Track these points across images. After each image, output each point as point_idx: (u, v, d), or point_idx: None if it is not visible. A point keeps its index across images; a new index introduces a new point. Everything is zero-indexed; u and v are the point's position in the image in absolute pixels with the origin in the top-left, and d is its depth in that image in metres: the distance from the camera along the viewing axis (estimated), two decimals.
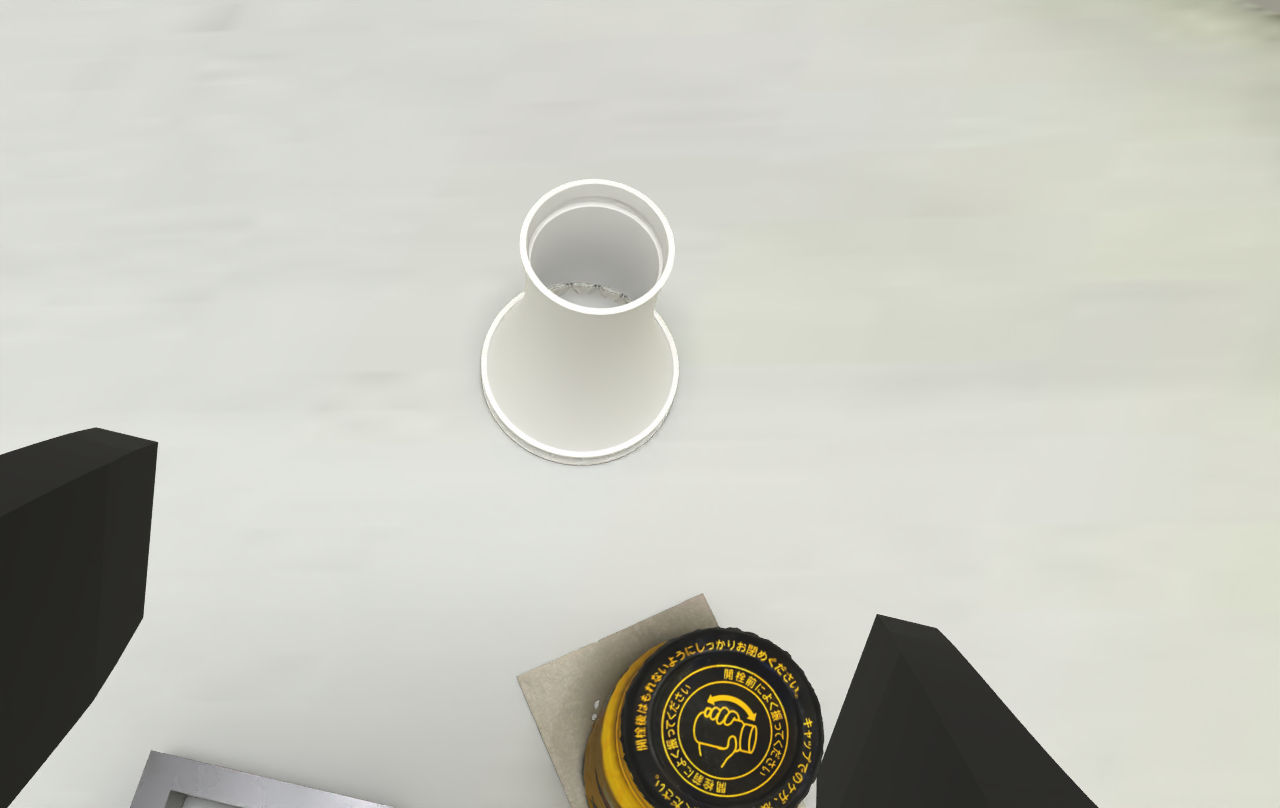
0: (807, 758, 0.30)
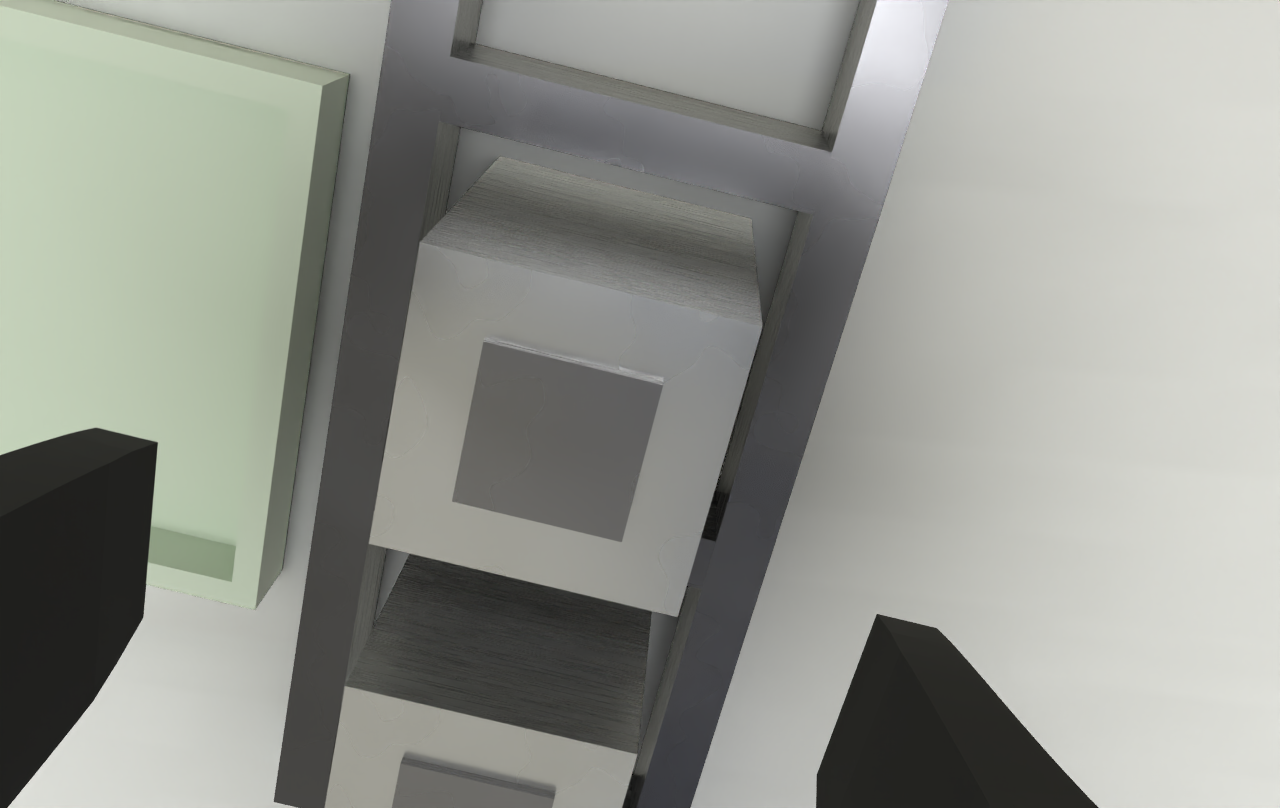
0: None
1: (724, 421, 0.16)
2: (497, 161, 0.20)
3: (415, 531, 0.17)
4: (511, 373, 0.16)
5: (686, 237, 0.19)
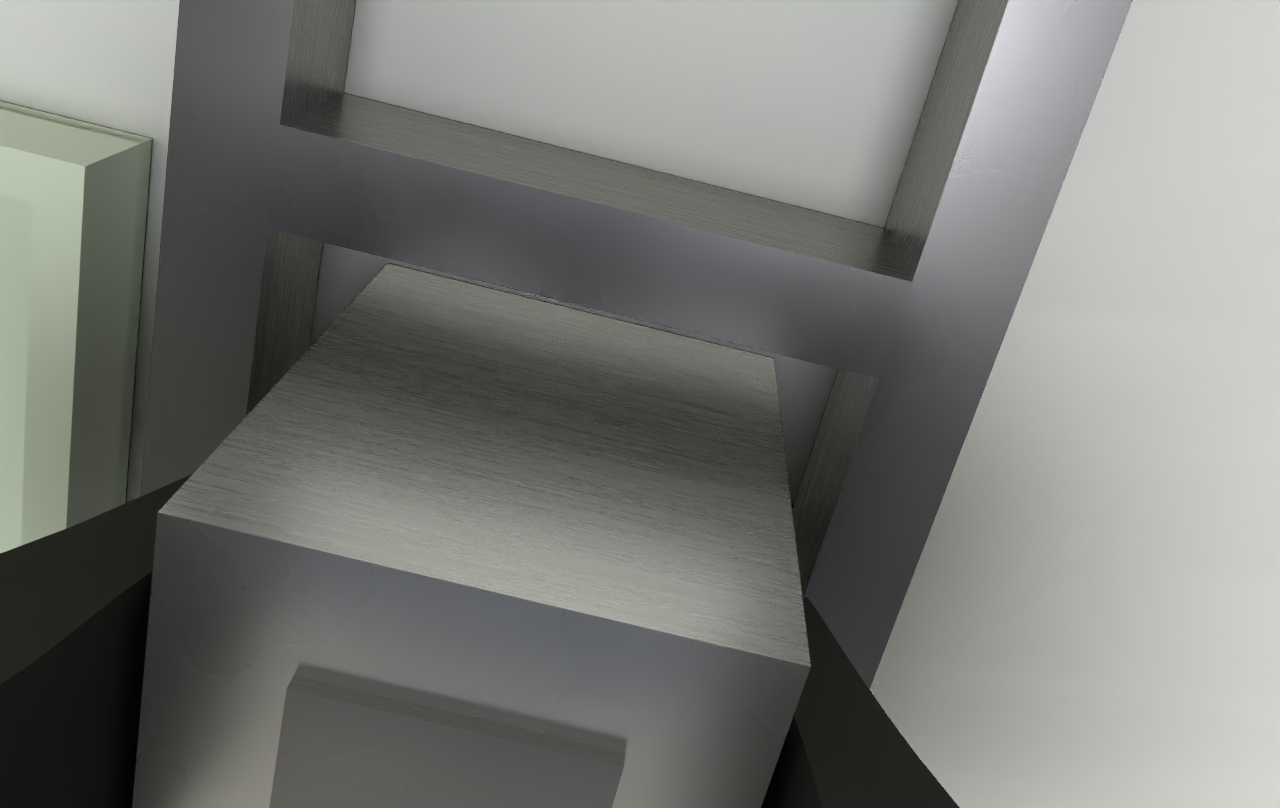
0: None
1: None
2: (379, 277, 0.13)
3: None
4: (342, 740, 0.08)
5: (671, 419, 0.11)
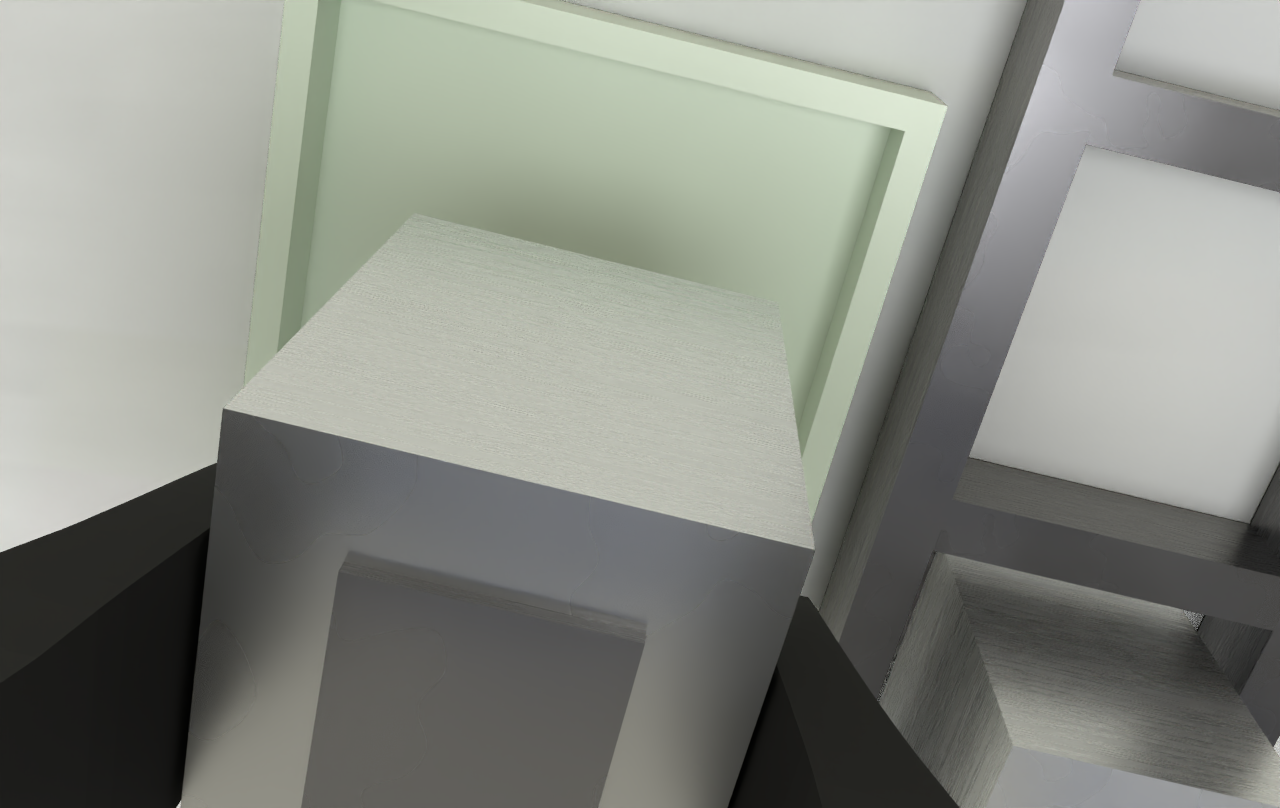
0: None
1: (748, 696, 0.09)
2: (407, 224, 0.14)
3: None
4: (387, 621, 0.09)
5: (684, 350, 0.12)
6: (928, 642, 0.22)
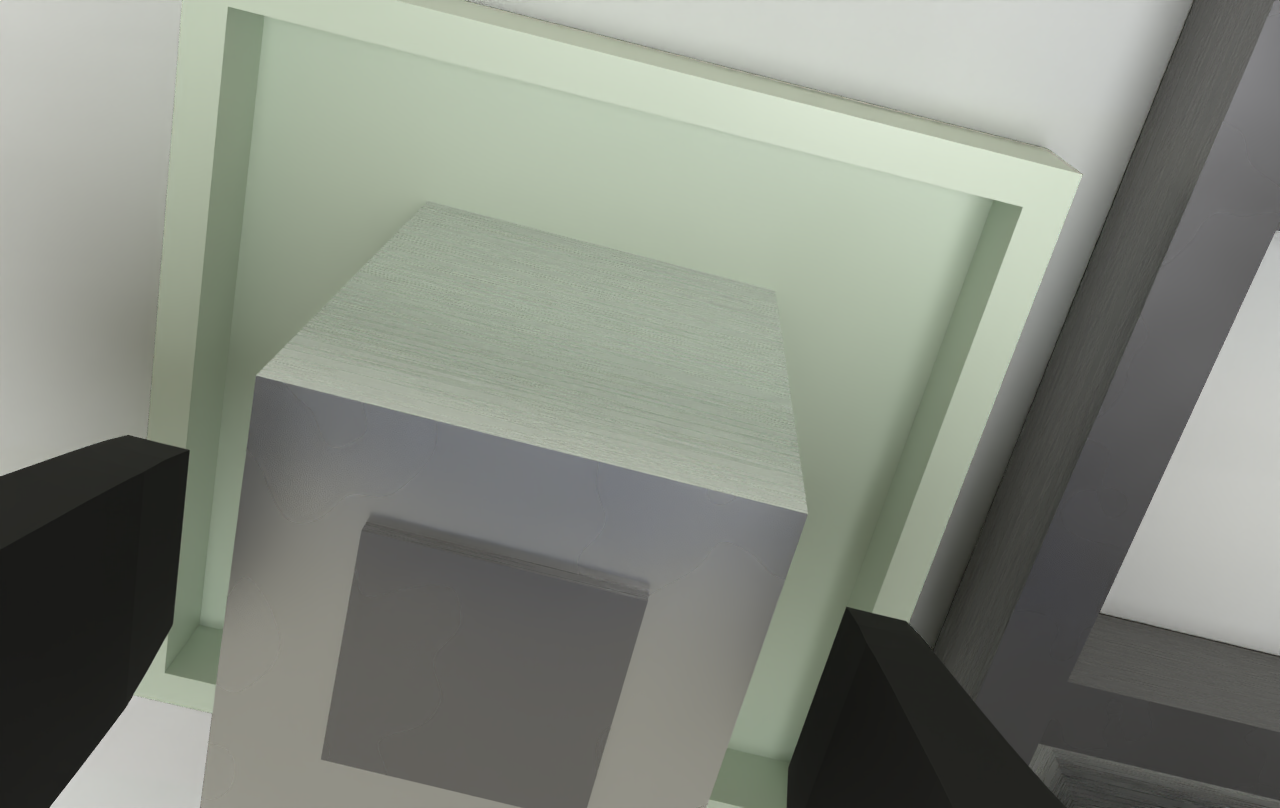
0: None
1: (744, 652, 0.10)
2: (421, 211, 0.14)
3: (268, 795, 0.11)
4: (406, 578, 0.10)
5: (685, 333, 0.13)
6: None
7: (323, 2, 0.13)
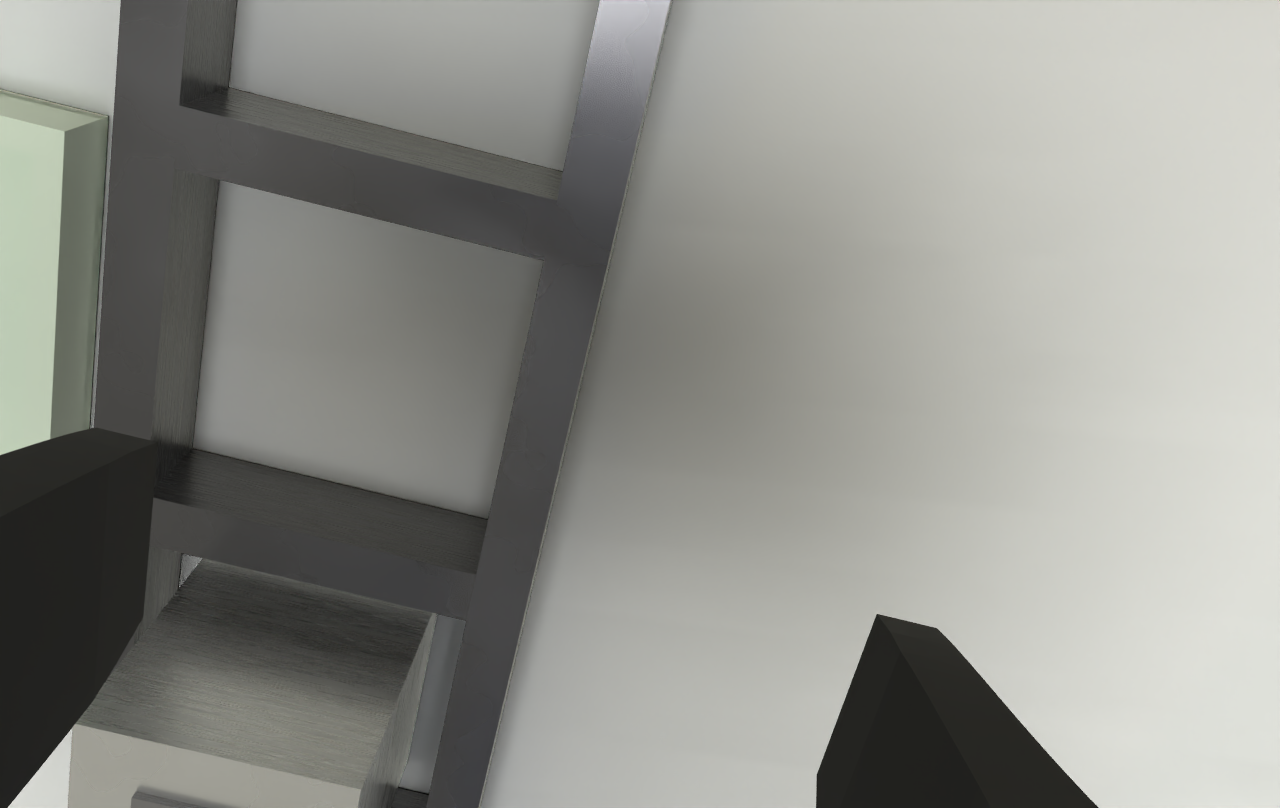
0: None
1: None
2: None
3: None
4: None
5: None
6: None
7: None
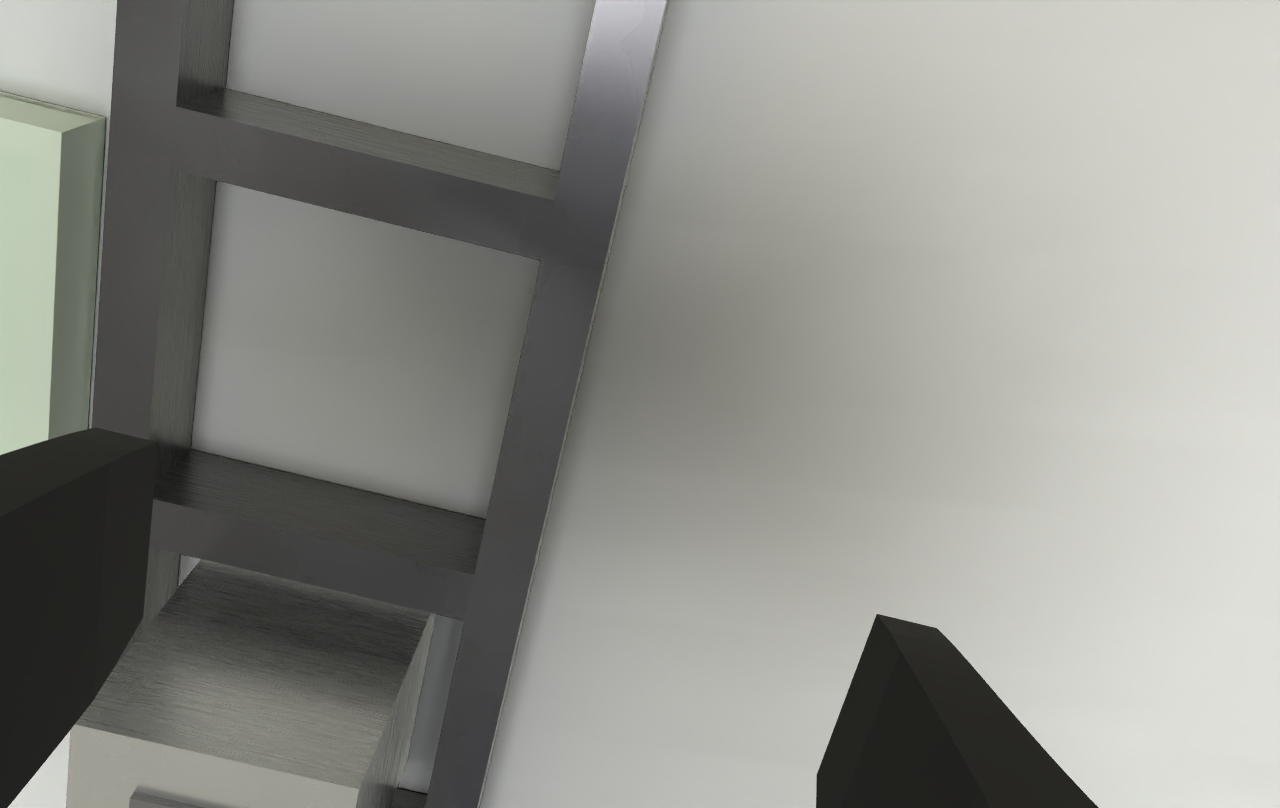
0: None
1: None
2: None
3: None
4: None
5: None
6: None
7: None
